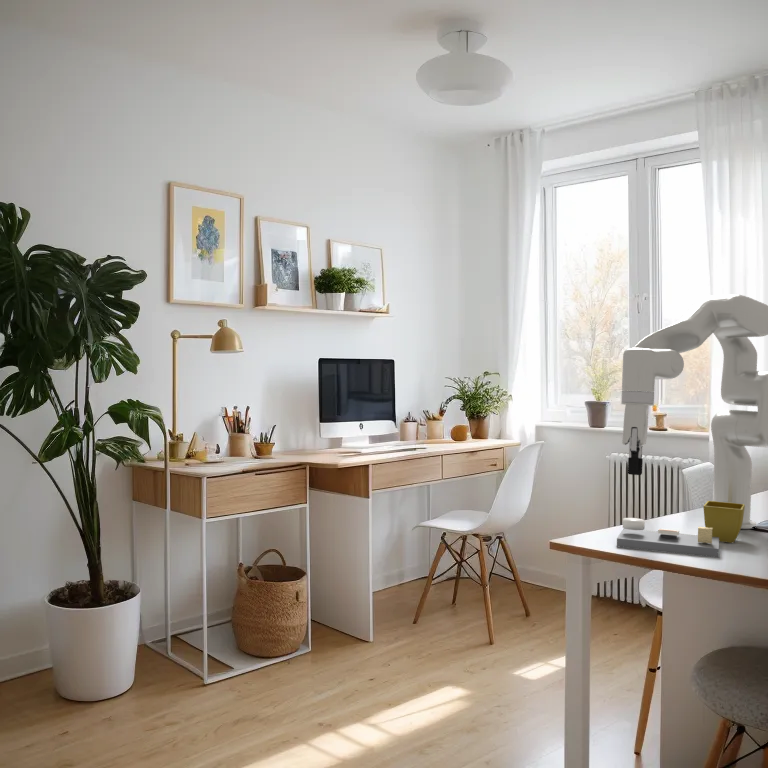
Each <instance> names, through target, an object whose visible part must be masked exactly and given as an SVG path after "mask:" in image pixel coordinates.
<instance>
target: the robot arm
mask: <svg viewBox="0 0 768 768" xmlns="http://www.w3.org/2000/svg"><path fill="white" fill-rule="evenodd" d="M712 334H713V335H714V336H715V338H716V339H717V340H718V342H719V344H720V346H721V349H722V353H723V360H722V361H723V363H722V372H721V373H722V375H721V383H720V385H721V387H720V398H721V399H722V401H723V402H724V403H726V404H728V405H731V406H732V405H733V406H745V407H749V406H750V407H757V411H756V410H755V411H754V410H753V411H752V410H743V409H742V410H741V409H726V410H721V411H719V412H717V413H716V414H715V415H714V416H713V417H712V419H711V423H710V431H711V436H712V442H713V443H712V444H713V478H712V479H713V486H712V501H717V502H727V503H738V504H745V509H744V516H743V522H742V526H741V529H740V530H747V529H753V528H752V527H753V526H755V525H756V526H757V522H756V521H754V520H751V509H752V508H751V506H752V505H751V503H752V473H753V471H752V470H753V463H752V457H751V456H750V453H749V452H748V450H747V449H746V447H753V448H768V371H767V370H766V371H765V370H763V371H762V370H761V371H759V370H758V368H757V367H758V352H757V348H756V347H755V346H754V344H753V342H752V340H750V339H749V338H758V337H759V338H760V337H765V336H768V305H767V304H765V302H761V301H760V300H759V301H758V300H756V299H754V298H751V297H749V296H746V295H743V294H737V293H736V294H721V295H710V296H709V295H708V296H704V297H702V298H700V299H699V300H698V301H697V302H696V303H694V304H692V306H691V307H690V308H689V309H688V310H687V311H686V312H685V313H684V314H683V315H682V316H681V317H680V318H679V319H678V320H677V321H676V322H673V323H672V324H669V325H667V326H665V327H663V328H661V329H659V330H657V331H654V332H652V333H650V334H648V335H646V336H645V337H644V338H642V339H640V340H639V341H638V342H637V343H636V344H635V345H634V346H633V347H632V348H631V347H630V348H627V349H624V352H623V353H622V354H623V355H622V371H621V372H622V377H621V378H622V379H621V400H620V401H621V403H620V405H625V407H624V412H623V413H624V415H623V427H622V441H621V444H622V445H623V446H627V445H628V458H627V460H628V461H627V474H628V475H632V476H633V475H634V476H641V475H643V460H644V459H643V448H644V446H645V445H646V443H647V437H648V428H649V427H648V426H649V408H650V406H652V407H653V406H655V382H656V381H655V380H672V379H676V378H677V377H678V376H680V375H681V374H682V373H683V371H684V369H685V368H684V367H685V361H684V358H683V356H682V355H681V354H682V353H686V352H690V351H692V350H695V349H698V348H699V347H701V346H702V345H703V344H704V343H705V342H706V340H708V338H709V337H710V336H711V335H712Z"/></svg>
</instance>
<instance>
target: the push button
mask: <svg viewBox="0 0 768 768" xmlns="http://www.w3.org/2000/svg"><path fill="white" fill-rule="evenodd" d="M645 522H646V520H645V519H642V518H636V517H623V518H622V528H625V529H629V530H645V526H646V524H645Z"/></svg>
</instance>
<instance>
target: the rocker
mask: <svg viewBox="0 0 768 768" xmlns="http://www.w3.org/2000/svg"><path fill="white" fill-rule="evenodd" d="M657 531H658V533H659V534H669V535H679V533H680V529H679V530H677V529H666V528H659V529H658V530H657Z"/></svg>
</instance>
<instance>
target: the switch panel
mask: <svg viewBox="0 0 768 768" xmlns="http://www.w3.org/2000/svg"><path fill="white" fill-rule="evenodd" d="M622 528H623V527H622ZM623 547H624V549H634V550H643V551H651V552H652V551H653V552H663V553H670V554H671V553H672V554H680V555H690V556H699V557H709V558H715V559H716V558H717V559H719V558H720V541H719V537H712V543H703V542H698V534H688V533H680V532H679V535H669V534H659V533H658V530H657V531H656V530H648V529H644V530H629V529H625V528H623V529H622V530H621V531H620V532H619V534H618V536H617V538H616V548H623Z"/></svg>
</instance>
